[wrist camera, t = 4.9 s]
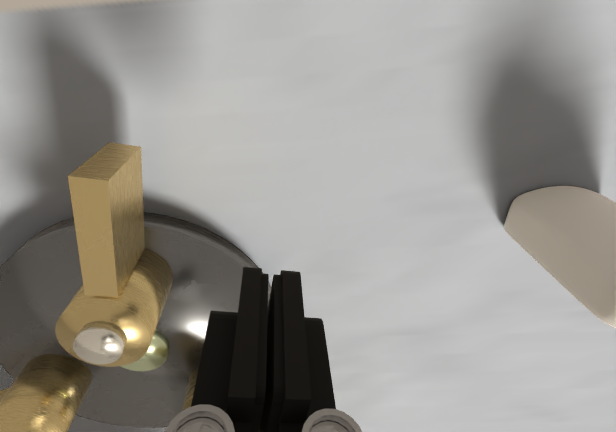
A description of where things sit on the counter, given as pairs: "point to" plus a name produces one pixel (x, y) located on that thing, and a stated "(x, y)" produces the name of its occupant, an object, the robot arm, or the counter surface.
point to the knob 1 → (44, 395)
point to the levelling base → (169, 332)
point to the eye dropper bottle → (571, 242)
